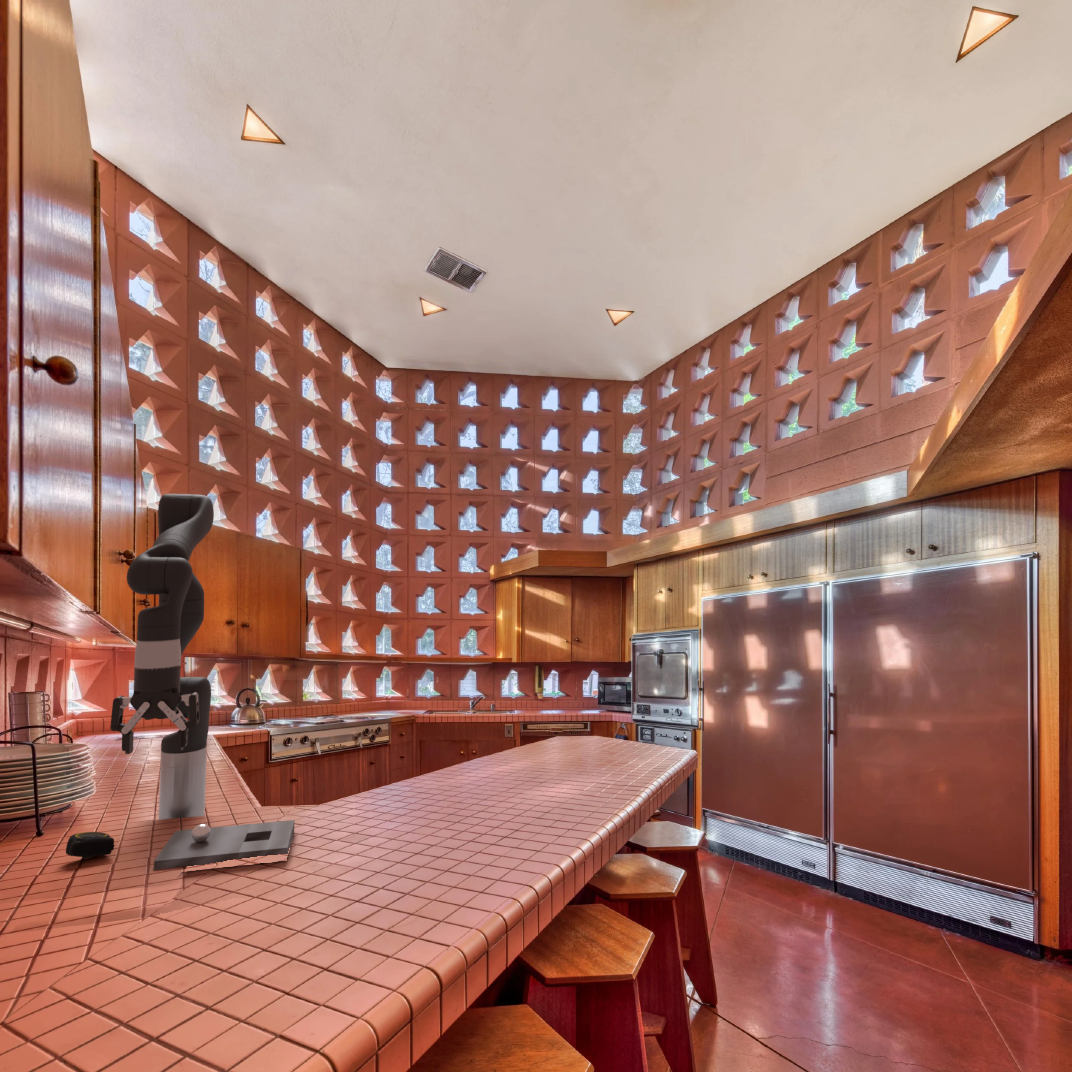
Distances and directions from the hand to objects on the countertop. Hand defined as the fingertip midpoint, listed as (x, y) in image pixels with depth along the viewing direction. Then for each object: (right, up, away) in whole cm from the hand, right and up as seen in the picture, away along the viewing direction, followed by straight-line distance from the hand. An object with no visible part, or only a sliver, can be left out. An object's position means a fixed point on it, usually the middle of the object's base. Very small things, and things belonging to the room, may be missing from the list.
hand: (155, 751), depth 121 cm
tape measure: (-11, -19, -3) cm, 23 cm away
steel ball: (+8, -16, +1) cm, 18 cm away
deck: (+13, -20, +2) cm, 24 cm away
